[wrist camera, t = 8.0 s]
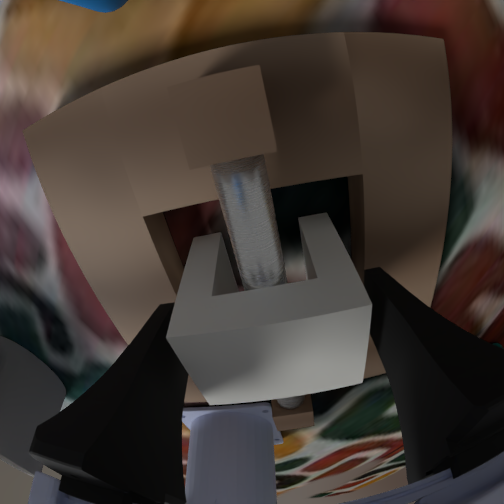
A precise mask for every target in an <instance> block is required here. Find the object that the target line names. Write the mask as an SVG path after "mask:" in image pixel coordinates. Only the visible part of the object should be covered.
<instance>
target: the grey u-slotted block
mask: <svg viewBox="0 0 504 504" xmlns="http://www.w3.org/2000/svg"><path fill="white" fill-rule="evenodd" d="M298 221H299V227H300V234H301V242H302V249H303V256H304V264H305V272H306V280H305V281H299V282H294V283H288V284H283V285H277V286H271V287H266V288H260V289H254V290H248V291H242V292H239V290H238V287H237V283H236V280H235V277H234V274H233V270H232V267H231V264H230V260H229V257H228V254H227V251H226V247H225V244H224V240H223V237H222V234H221V232H219V233H214V234H209V235H204V236H199V237H194V238H193V241H192V244H191V248H190V251H189V254H188V258H187V261H186V265H185V268H184V272H183V275H182V279H181V282H180V286H179V290H178V293H177V297H176V301H175V304H174V308H173V312H172V316H171V320H170V323H169V327H168V331H167V335H166V339H167V340H168V342H169V344H170V345H171V347H172V349H173V350H174V352H175V353H176V355H177V357H178V358H179V360H180V361H181V363H182V365H183V366H184V368H185V369H186V371H187V372H188V374H189V375H190V377H191V378H192V380H193V381H194V383H195V384H196V386H197V387H198V389H199V390H200V392H201V393H202V395H203V396H204V398H205V399H206V401H207V402H208V403H209V405H222V404H235V403H246V402H256V401H265V400H273V399H280V398H287V397H294V396H300V395H306V394H312V393H317V392H322V391H328V390H333V389H337V388H342V387H347V386H351V385H355V384H360V383H363V377H364V370H365V364H366V357H367V349H368V341H369V333H370V323H371V313H372V303H371V300H370V298H369V296H368V294H367V292H366V290H365V287H364V285H363V283H362V281H361V279H360V277H359V275H358V273H357V271H356V269H355V267H354V264H353V262H352V260H351V258H350V256H349V254H348V252H347V250H346V248H345V246H344V244H343V243H342V241H341V239H340V237H339V235H338V233H337V231H336V229H335V227H334V225H333V223H332V221H331V220H330V218H329V216H328V214H327V212H326V213H321V214H315V215H309V216H304V217H298Z"/></svg>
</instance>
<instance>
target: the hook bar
mask: <svg viewBox="0 0 504 504" xmlns="http://www.w3.org/2000/svg"><path fill="white" fill-rule="evenodd" d="M210 168H211V172H212V176H213V179H214V183H215V187H216V190H217V194H218V198H219V201H220V205H221V209H222V212H223V216H224V220H225V223H226V227H227V231H228V234H229V238H230V241H231V245H232V248H233V252H234V256H235V259H236V263H237V266H238V270H239V273H240V277H241V280H242V284H243V287H244V291H248V290H254V289H260V288H266V287H271V286H277V285H283V284H287V278H286V272H285V266H284V260H283V254H282V249H281V243H280V238H279V232H278V227H277V221H276V216H275V210H274V205H273V200H272V194H271V189H270V184H269V179H268V174H267V169H266V164H265V159H264V154H261V155H256V156H251V157H246V158H241V159H236V160H232V161H227V162H222V163H218V164H213V165H210ZM304 399H305V395H300V396H294V397H287V398H280V399H277V402H278V404H279V405H280V406H281V407H282V408H284V409H288V410H291V409H296V408H298V407H299V406H301V405H302V403H303V402H304Z"/></svg>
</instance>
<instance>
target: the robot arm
mask: <svg viewBox="0 0 504 504" xmlns="http://www.w3.org/2000/svg"><path fill="white" fill-rule="evenodd" d="M364 287H365V290H366V292H367V294H368V296H369V298H370V300H371V303H372V313H371V323H370V335H371V338H372V340H373V342H374V345H375V347H376V349H377V352H378V354H379V357H380V359H381V361H382V364H383V366H384V369H385V371H386V374H387V376H388V379H389V382H390V385H391V388H392V391H393V395H394V399H395V403H396V407H397V412H398V417H399V421H400V426H401V432H402V438H403V444H404V451H405V460H406V470H407V480H408V485H406V486H403V487H400V488H397V489H394V490H391V491H388V492H384V493H381V494H377V495H374V496H370V497H367V498H362V499H358V500H353V501H349V502H344V503H339V504H408V503H411V502H414V501H416V500H417V501H416V502H415V503H414V504H504V349H503V348H500V347H498V346H495V345H493V344H491V343H488V342H486V341H484V340H482V339H480V338H478V337H476V336H474V335H472V334H471V333H469V332H467V331H465V330H463V329H462V328H460V327H458V326H457V325H455V324H453V323H452V322H450V321H449V320H447V319H445V318H444V317H442V316H441V315H440V314H438V313H437V312H435V311H434V310H433V309H431V308H430V307H428V306H427V305H426V304H424V303H423V302H422V301H421V300H419V299H418V298H417V297H416V296H414V295H413V294H412V293H411V292H409V291H408V290H407V289H406V288H404V287H403V286H402V285H401V284H400V283H399V282H397V281H396V280H395V279H394V278H393V277H391V276H390V275H389V274H388V273H387V272H385V271H384V270H383V269H382V268H381V267H375V268H371V269H366V270H364ZM174 304H175V303H174V302H173V303H165V304H160V305H159V306H158V307H157V309H156V310H155V311H154V312H153V314H152V315H151V316H150V318H149V319H148V320H147V322H146V323H145V324H144V326H143V327H142V328H141V330H140V331H139V332H138V334H137V335H136V336H135V338H134V339H133V340H132V342H131V343H130V344H129V346H128V347H127V348H126V349H125V350H124V352H123V353H122V354H121V355H120V357H119V358H118V359H117V360H116V361H115V363H114V364H113V365H112V366H111V367H110V368H109V369H108V370H107V372H106V373H105V374H104V375H103V376H102V377H101V378H100V379H99V380H98V381H97V382H96V383H95V384H94V385H92V386H91V387H90V388H89V389H88V390H87V391H86V392H85V393H84V394H82V395H81V396H80V397H79V398H78V399H77V400H75V401H74V402H73V403H71V404H70V405H69V406H68V407H66V408H65V409H63V410H62V411H61V412H59V413H58V414H56V415H55V416H53V417H51V418H50V419H48V420H46V421H45V422H43V423H42V424H40V425H38V426H37V428H36V431H35V434H34V437H33V440H32V443H31V446H30V450H29V454H30V455H31V456H32V457H33V458H34V459H35V460H37V461H39V462H40V463H42V464H43V465H45V466H47V467H48V468H50V469H52V470H54V471H56V472H57V473H59V474H61V475H62V477H61V480H59V479H56V478H54V477H52V476H49V475H47V474H44V473H42V472H39V471H35V475H34V479H33V483H32V487H31V491H30V496H29V501H28V504H277V496H276V478H275V460H274V445H276V444H282V443H283V438H282V435H281V432H280V431H277V428H276V426H275V423H274V420H273V418H272V407H271V405H270V403H268V402H261V403H252V404H241V405H229V406H213V407H188V408H183V406H184V399H185V393H186V387H187V381H188V375H189V374H188V372H187V371H186V369H185V368H184V366H183V365H182V363H181V361H180V360H179V358H178V357H177V355H176V353H175V352H174V350H173V349H172V347H171V345H170V344H169V342H168V340H167V339H166V335H167V331H168V327H169V323H170V320H171V316H172V312H173V308H174ZM182 422H183V423H184V424H185V425H186V426H187V427H188V428H189V429H190V430H191V431H190V441H189V451H188V462H187V473H186V485H185V487H184V478H183V465H182Z"/></svg>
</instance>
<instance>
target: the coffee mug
mask: <svg viewBox="0 0 504 504" xmlns="http://www.w3.org/2000/svg"><path fill="white" fill-rule="evenodd" d="M65 396H66V389H65V387H64V385H63V383H62V382H61V380H60V379H59V378H58V376H57V375H56V374H55V373H54V372H53V371H52V370H51V369H50V368H49V367H48V366H47V365H46V364H45V363H44V362H42V361H41V360H40V359H39V358H37V357H36V356H35V355H34V354H32V353H31V352H29V351H28V350H27V349H25V348H24V347H22V346H20V345H19V344H17V343H15V342H13V341H12V340H9V339H7V338H5V337H2V336H0V459H1V460H2V461H4V462H6V463H7V464H9V465H11V466H13V467H15V468H16V469H18V470H20V471H22V472H24V473H26V474H28V475H30V476H33V477H34V475H35V471H39V472H42V468H43V464H42V463H40V462H39V461H37V460H35V459H34V458H33V457H32V456H31V455H30V454H29V450H30V446H31V443H32V440H33V437H34V434H35V431H36V428H37V426H38V425H40V424H42V423H43V422H45V421H46V420H48V419H50V418H51V417H53V416H55V415H56V414H58V413H59V412H60V410H61V407H62V404H63V401H64V399H65Z"/></svg>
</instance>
